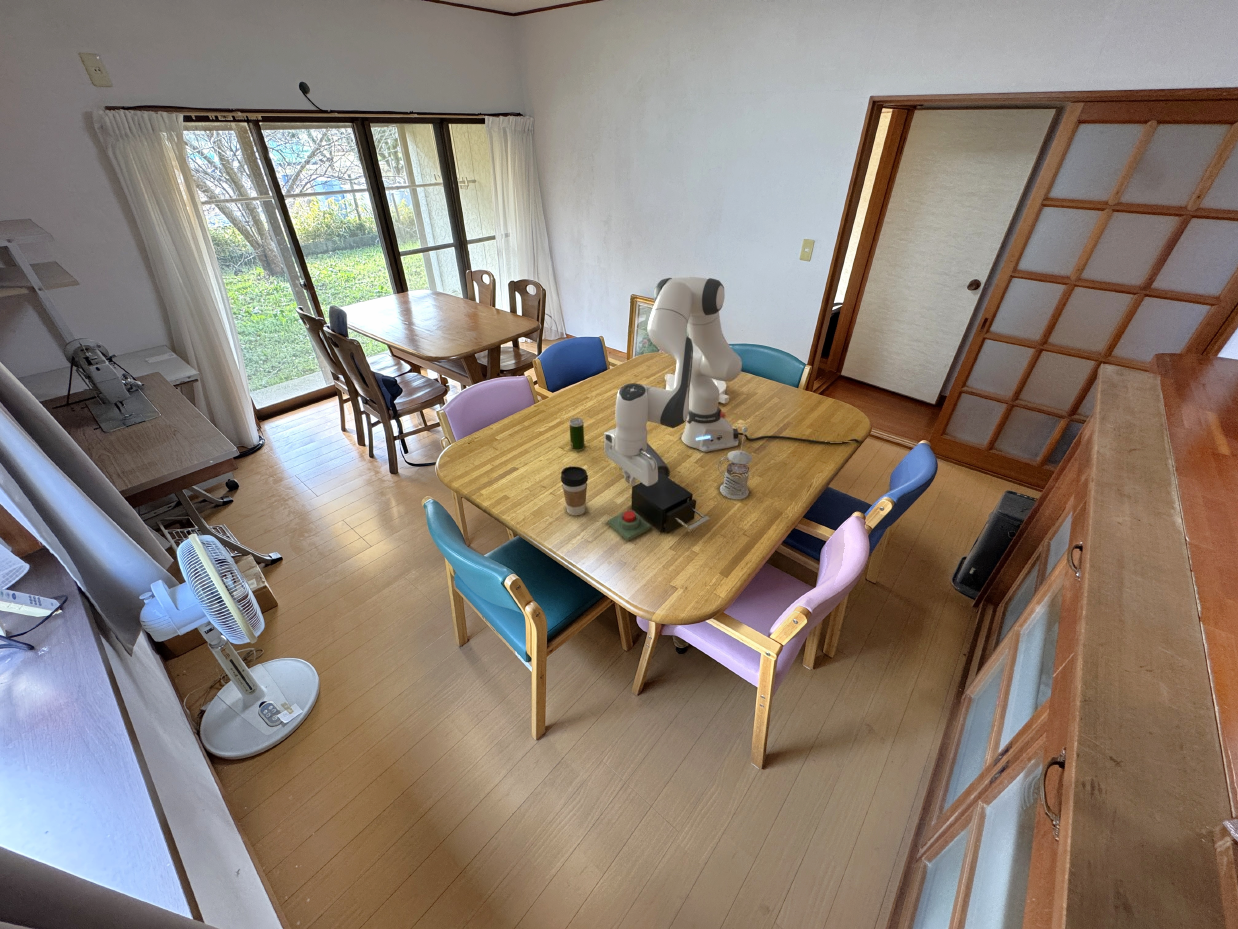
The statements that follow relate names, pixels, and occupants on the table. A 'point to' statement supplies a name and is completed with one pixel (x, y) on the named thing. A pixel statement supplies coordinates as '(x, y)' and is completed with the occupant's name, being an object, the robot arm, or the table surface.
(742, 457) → the french press
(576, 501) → the coffee cup
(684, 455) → the table surface
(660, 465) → the bluetooth speaker
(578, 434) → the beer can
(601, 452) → the table surface
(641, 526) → the control block
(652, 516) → the dark drawer cabinet
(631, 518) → the stop button
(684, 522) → the black drawer
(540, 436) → the table surface
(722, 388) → the white circle with bar
